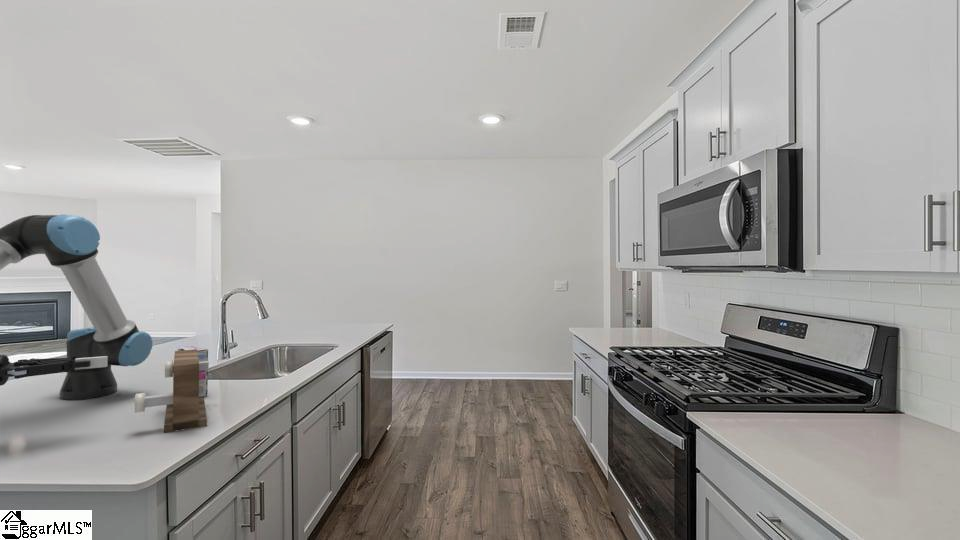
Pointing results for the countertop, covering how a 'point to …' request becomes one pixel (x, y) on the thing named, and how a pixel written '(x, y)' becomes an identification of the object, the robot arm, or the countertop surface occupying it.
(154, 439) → the countertop surface
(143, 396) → the lower plunger
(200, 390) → the candy bar box
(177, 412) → the slatted wooden stand
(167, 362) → the upper plunger
